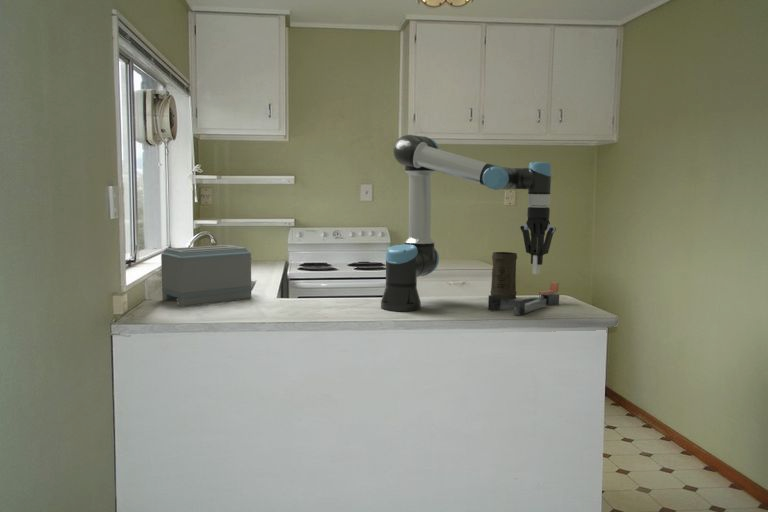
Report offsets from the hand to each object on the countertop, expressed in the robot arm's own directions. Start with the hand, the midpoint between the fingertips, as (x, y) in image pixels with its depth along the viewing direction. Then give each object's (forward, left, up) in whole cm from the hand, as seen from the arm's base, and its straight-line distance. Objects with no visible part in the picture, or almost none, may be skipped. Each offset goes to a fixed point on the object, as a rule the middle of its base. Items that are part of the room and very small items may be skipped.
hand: (536, 273), depth 223 cm
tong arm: (-1, +11, -15) cm, 19 cm away
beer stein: (-12, +32, -16) cm, 38 cm away
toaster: (-125, -1, -16) cm, 126 cm away
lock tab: (+5, +27, -11) cm, 29 cm away
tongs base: (-4, +18, -16) cm, 24 cm away
